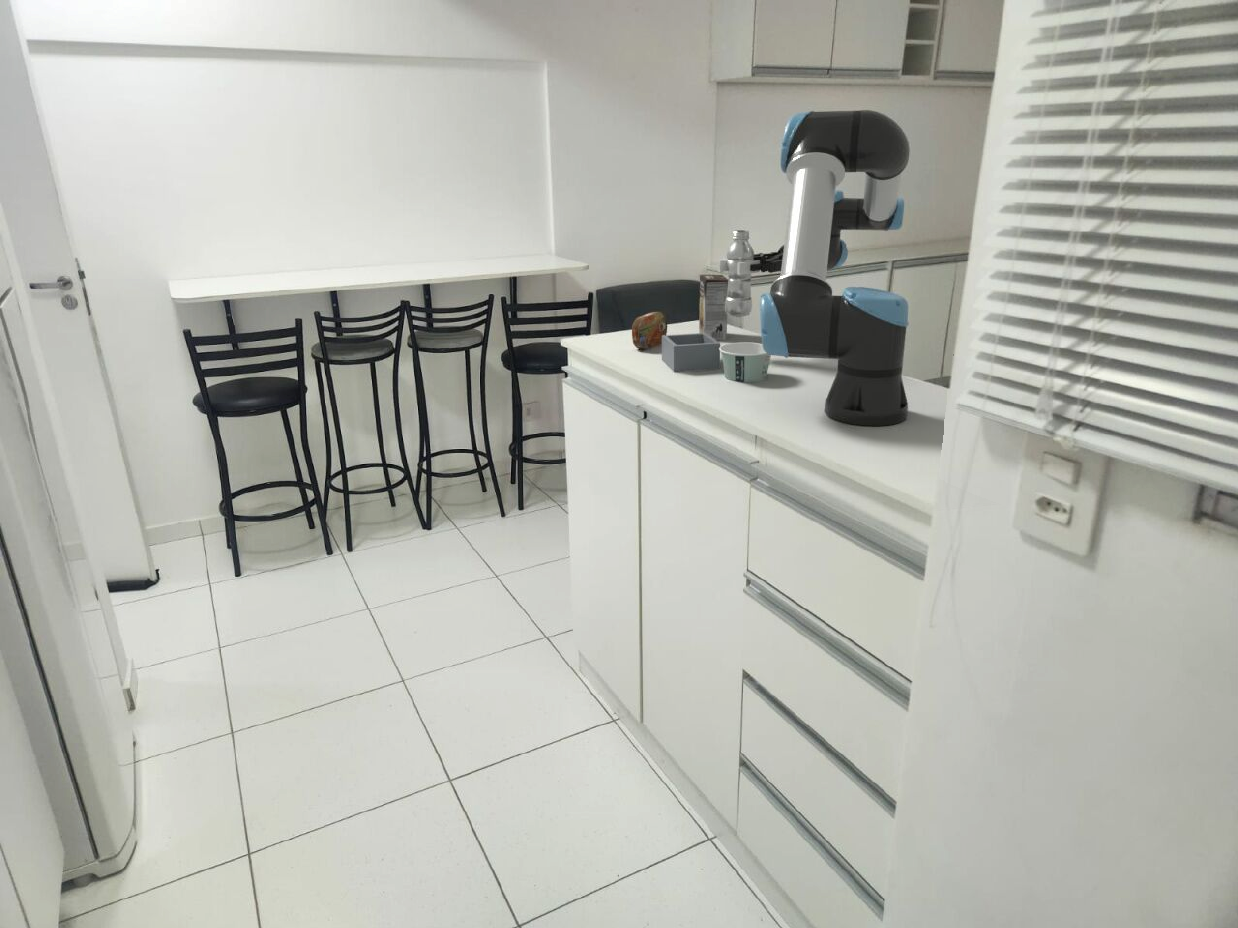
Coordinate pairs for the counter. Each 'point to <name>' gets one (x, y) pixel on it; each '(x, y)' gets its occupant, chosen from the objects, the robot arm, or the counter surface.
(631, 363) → the counter surface
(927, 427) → the counter surface
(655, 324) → the tin
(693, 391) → the counter surface
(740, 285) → the plastic bottle
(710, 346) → the bottle holder
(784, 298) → the robot arm
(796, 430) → the counter surface
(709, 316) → the coffee box
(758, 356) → the food container
